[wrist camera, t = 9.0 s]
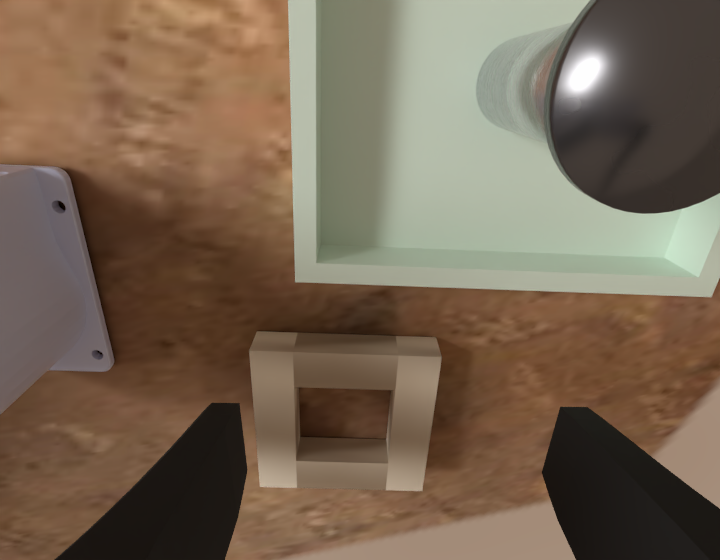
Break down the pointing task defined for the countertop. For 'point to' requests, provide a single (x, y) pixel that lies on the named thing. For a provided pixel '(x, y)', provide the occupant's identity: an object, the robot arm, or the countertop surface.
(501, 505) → the countertop surface
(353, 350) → the pin collar
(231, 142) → the countertop surface
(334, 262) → the tray
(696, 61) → the pin
